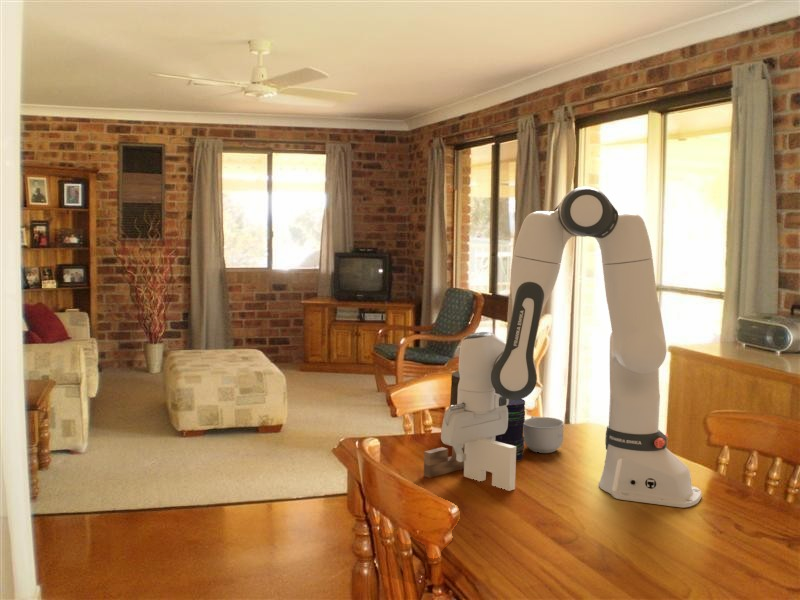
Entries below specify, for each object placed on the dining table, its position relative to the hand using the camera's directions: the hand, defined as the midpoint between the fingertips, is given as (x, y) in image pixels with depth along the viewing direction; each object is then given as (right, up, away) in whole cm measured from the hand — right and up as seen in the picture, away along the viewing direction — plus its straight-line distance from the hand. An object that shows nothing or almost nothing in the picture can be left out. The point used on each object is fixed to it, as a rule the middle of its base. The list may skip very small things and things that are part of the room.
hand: (474, 457), depth 195 cm
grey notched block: (-5, -4, +6) cm, 9 cm away
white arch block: (+3, -5, -3) cm, 7 cm away
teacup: (+21, -3, +27) cm, 34 cm away
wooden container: (+4, -2, +38) cm, 38 cm away
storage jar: (+10, -4, +19) cm, 22 cm away
